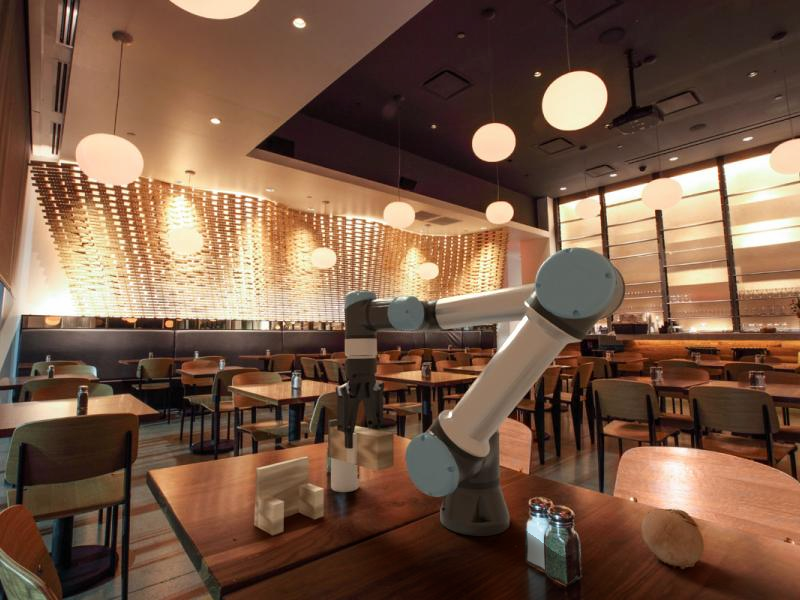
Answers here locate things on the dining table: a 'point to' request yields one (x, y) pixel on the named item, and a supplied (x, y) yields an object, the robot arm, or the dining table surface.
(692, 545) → the beige rounded lump
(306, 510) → the upright wooden board
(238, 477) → the dining table surface
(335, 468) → the milk bottle
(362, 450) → the rectangular wooden block
